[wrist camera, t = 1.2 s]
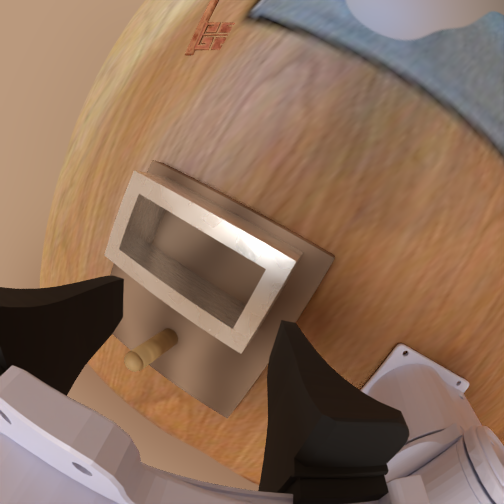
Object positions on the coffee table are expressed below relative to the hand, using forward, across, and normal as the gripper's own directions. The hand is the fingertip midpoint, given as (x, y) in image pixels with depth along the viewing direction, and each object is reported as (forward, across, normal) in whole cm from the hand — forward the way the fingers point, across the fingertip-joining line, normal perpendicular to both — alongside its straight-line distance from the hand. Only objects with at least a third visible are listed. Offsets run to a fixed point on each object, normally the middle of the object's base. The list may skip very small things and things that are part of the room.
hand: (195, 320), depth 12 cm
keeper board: (+10, +2, +4) cm, 12 cm away
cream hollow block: (+9, +2, 0) cm, 9 cm away
